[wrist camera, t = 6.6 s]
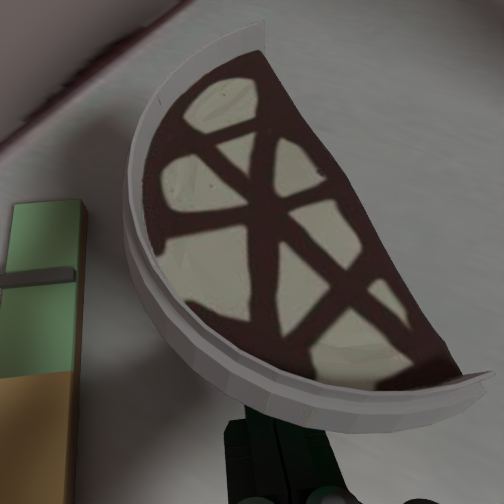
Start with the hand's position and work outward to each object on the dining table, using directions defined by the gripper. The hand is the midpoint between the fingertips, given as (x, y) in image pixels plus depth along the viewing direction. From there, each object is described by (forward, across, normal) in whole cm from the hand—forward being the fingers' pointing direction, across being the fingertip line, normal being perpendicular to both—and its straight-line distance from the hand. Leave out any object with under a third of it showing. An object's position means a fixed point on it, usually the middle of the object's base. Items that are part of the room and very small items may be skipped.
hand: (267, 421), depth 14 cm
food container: (+6, 0, 0) cm, 6 cm away
